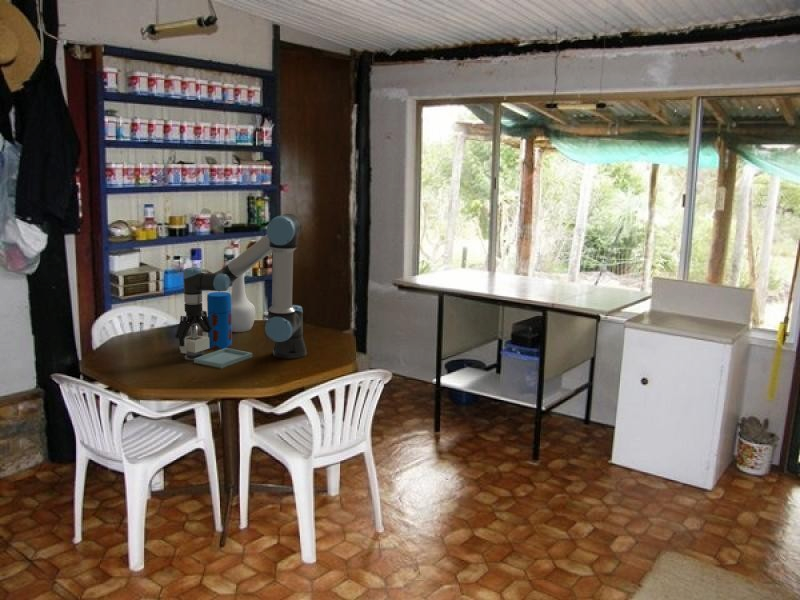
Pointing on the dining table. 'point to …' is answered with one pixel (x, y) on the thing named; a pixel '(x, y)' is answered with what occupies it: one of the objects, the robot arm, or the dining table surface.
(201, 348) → the ring
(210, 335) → the thermos
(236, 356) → the tray
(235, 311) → the vase
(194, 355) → the stake
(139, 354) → the dining table surface
